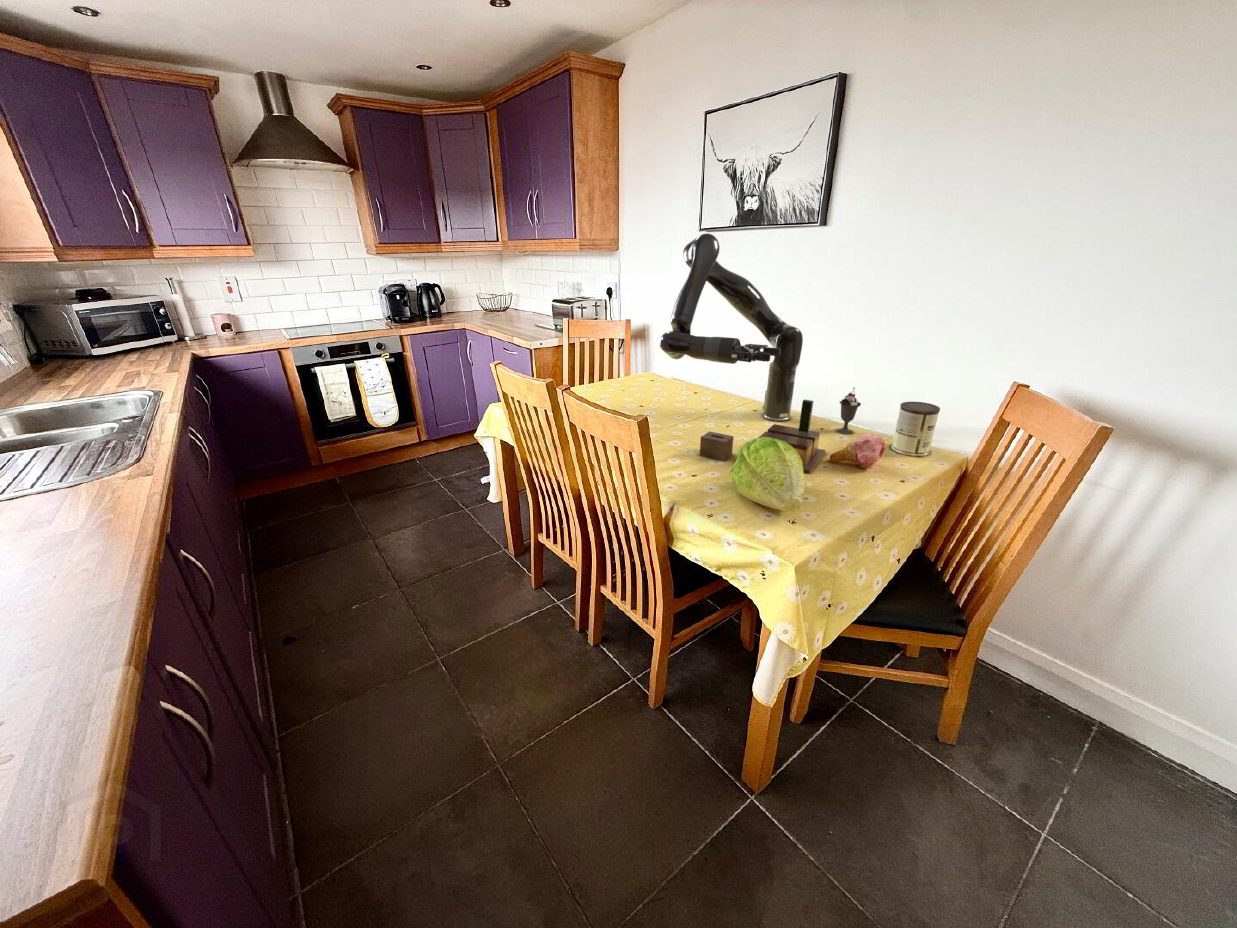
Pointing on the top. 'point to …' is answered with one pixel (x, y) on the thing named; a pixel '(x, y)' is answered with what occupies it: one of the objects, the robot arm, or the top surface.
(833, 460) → the ice cream
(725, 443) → the knife block
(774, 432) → the slotted wooden block
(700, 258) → the robot arm
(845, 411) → the sundae
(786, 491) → the lettuce
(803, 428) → the knife
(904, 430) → the coffee can
